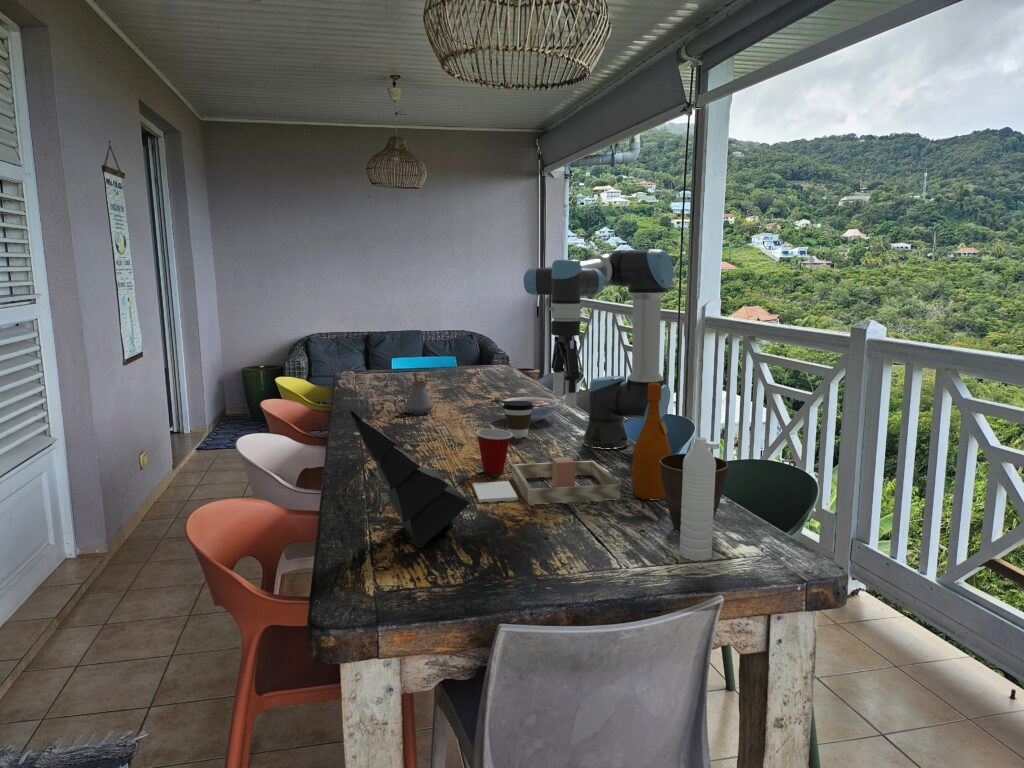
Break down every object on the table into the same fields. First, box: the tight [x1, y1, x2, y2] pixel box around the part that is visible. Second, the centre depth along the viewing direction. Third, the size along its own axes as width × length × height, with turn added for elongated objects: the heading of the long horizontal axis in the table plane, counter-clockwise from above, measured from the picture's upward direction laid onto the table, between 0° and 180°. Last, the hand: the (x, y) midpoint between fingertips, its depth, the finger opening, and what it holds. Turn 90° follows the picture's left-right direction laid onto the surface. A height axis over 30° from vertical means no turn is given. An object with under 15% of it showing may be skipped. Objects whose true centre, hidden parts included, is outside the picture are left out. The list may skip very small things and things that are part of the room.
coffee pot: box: [405, 371, 434, 415], centre depth 296 cm, size 21×12×15 cm, turn 14°
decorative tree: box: [349, 410, 471, 549], centre depth 153 cm, size 15×15×35 cm
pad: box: [472, 480, 519, 504], centre depth 187 cm, size 10×14×1 cm
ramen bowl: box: [490, 396, 559, 423], centre depth 277 cm, size 25×23×8 cm
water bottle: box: [678, 436, 720, 562], centre depth 143 cm, size 9×6×25 cm
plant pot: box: [660, 453, 729, 533], centre depth 160 cm, size 15×15×16 cm
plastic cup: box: [475, 428, 513, 475], centre depth 206 cm, size 11×11×12 cm
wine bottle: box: [631, 383, 672, 500], centre depth 183 cm, size 10×10×30 cm
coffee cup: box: [502, 401, 534, 439], centre depth 250 cm, size 11×11×12 cm
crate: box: [511, 460, 622, 506], centre depth 191 cm, size 24×24×4 cm
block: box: [551, 457, 576, 488], centre depth 191 cm, size 5×5×8 cm
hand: (564, 400), depth 187 cm, fingers open, 13 cm apart
